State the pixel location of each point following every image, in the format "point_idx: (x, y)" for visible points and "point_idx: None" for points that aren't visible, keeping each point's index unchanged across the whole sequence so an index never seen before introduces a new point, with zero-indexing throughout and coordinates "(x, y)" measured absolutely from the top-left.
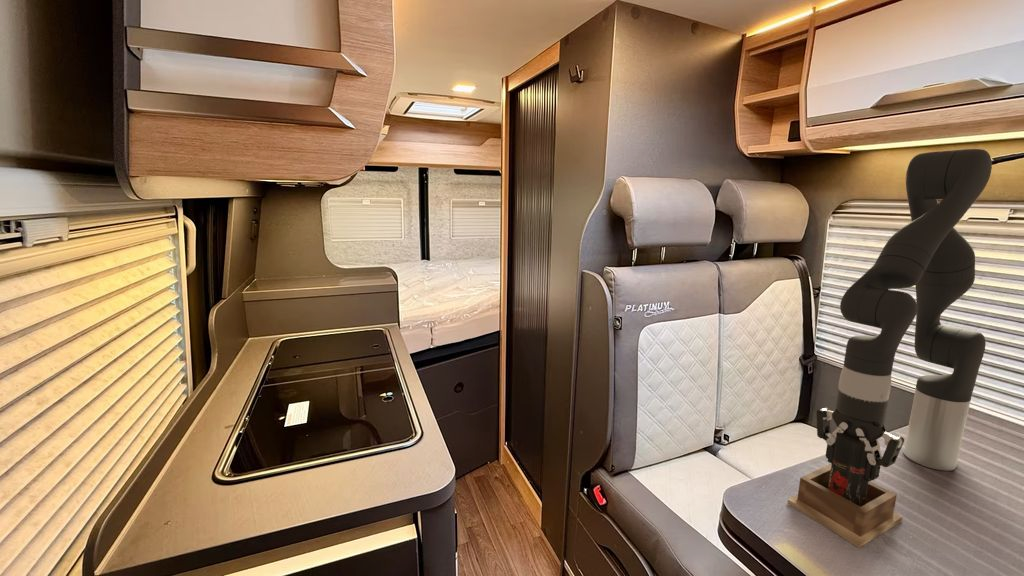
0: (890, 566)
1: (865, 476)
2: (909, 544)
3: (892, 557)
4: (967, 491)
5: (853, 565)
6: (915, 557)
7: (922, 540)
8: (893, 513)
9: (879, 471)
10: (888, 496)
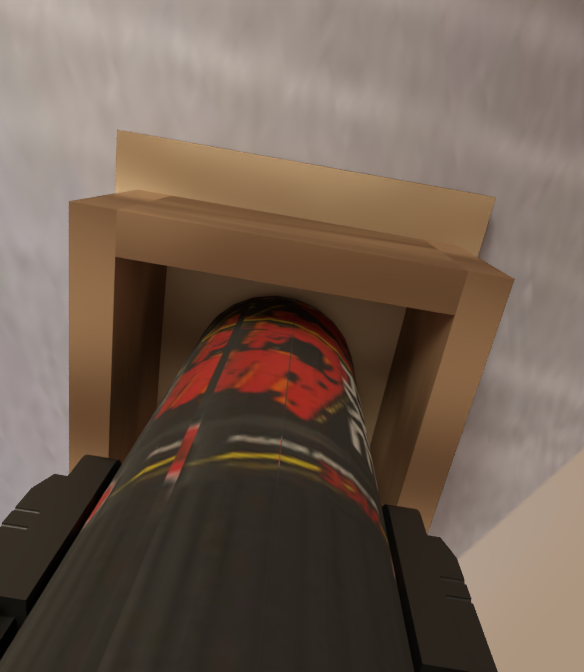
0: (483, 531)
1: None
2: (527, 356)
3: (483, 483)
4: None
5: None
6: (550, 421)
7: (572, 280)
8: (456, 205)
9: (473, 605)
10: (473, 354)
